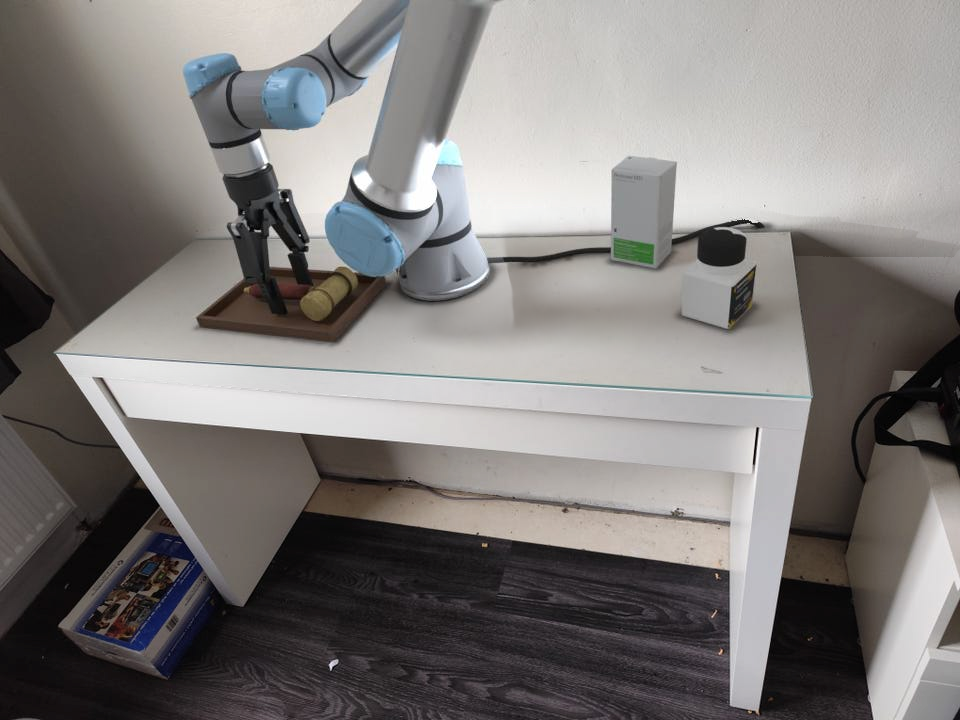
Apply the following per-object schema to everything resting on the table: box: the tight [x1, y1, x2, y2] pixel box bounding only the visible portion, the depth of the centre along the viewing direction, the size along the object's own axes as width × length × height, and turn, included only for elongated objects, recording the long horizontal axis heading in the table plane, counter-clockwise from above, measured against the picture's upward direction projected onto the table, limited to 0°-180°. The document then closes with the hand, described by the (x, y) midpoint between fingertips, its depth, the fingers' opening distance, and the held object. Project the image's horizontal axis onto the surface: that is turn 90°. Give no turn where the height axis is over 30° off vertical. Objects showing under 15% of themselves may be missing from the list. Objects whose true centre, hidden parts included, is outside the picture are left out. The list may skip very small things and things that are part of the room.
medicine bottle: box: [681, 227, 757, 330], centre depth 91 cm, size 7×7×12 cm
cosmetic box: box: [610, 155, 678, 270], centre depth 105 cm, size 8×7×16 cm
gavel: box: [244, 265, 358, 321], centre depth 112 cm, size 21×5×10 cm
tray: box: [195, 266, 388, 343], centre depth 113 cm, size 27×18×2 cm, turn 69°
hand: (293, 300), depth 113 cm, fingers closed on gavel, 7 cm apart
